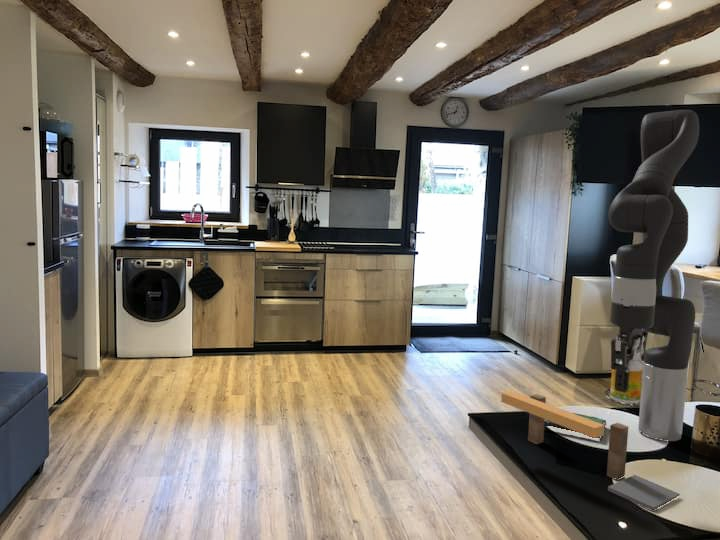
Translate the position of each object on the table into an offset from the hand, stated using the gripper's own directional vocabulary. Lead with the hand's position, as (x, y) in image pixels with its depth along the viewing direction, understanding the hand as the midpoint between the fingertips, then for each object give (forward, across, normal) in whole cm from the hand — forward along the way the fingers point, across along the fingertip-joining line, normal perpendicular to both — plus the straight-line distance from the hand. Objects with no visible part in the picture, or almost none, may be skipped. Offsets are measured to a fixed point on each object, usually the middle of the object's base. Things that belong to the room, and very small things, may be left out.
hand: (626, 386), depth 112 cm
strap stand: (+20, -5, -11) cm, 23 cm away
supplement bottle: (+3, 0, 0) cm, 3 cm away
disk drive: (+20, -21, -18) cm, 34 cm away
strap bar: (+9, +4, -13) cm, 16 cm away
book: (+20, +1, +5) cm, 20 cm away
